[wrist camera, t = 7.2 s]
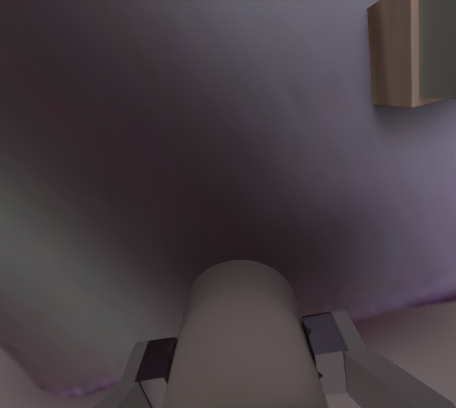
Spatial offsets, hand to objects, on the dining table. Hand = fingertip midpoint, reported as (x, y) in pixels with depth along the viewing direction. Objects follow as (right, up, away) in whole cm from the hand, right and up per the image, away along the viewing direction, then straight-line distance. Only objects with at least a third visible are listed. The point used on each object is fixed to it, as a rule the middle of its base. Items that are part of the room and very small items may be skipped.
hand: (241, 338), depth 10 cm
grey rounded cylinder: (0, +1, +2) cm, 2 cm away
